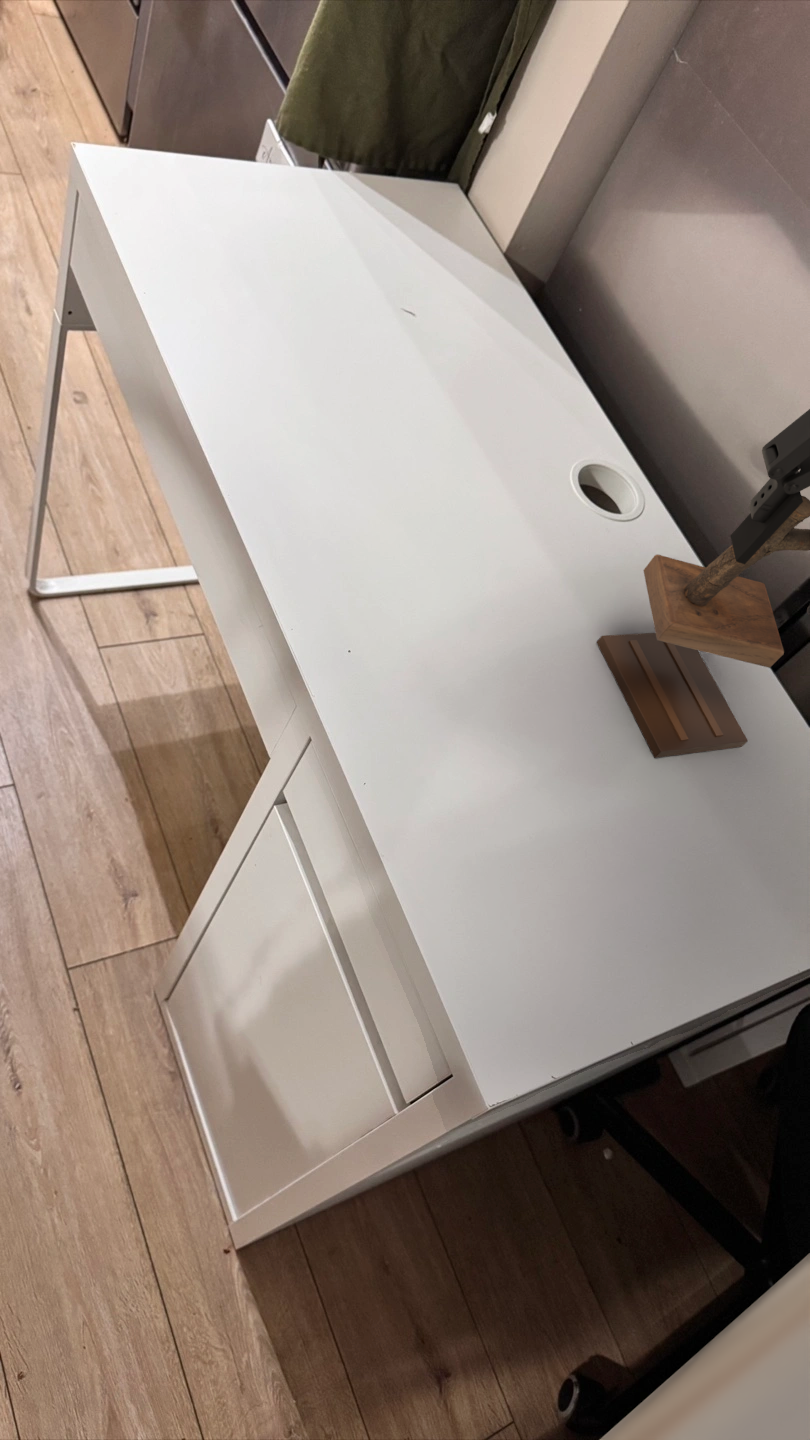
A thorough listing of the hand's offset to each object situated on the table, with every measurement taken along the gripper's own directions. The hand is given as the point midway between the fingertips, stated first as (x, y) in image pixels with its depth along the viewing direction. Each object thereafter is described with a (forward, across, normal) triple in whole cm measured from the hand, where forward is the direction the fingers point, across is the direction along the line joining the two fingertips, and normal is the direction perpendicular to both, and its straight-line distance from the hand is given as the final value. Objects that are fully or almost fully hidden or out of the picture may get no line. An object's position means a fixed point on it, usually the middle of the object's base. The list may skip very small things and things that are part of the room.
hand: (792, 568), depth 76 cm
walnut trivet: (+17, 0, 0) cm, 17 cm away
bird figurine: (+10, 0, 0) cm, 10 cm away
